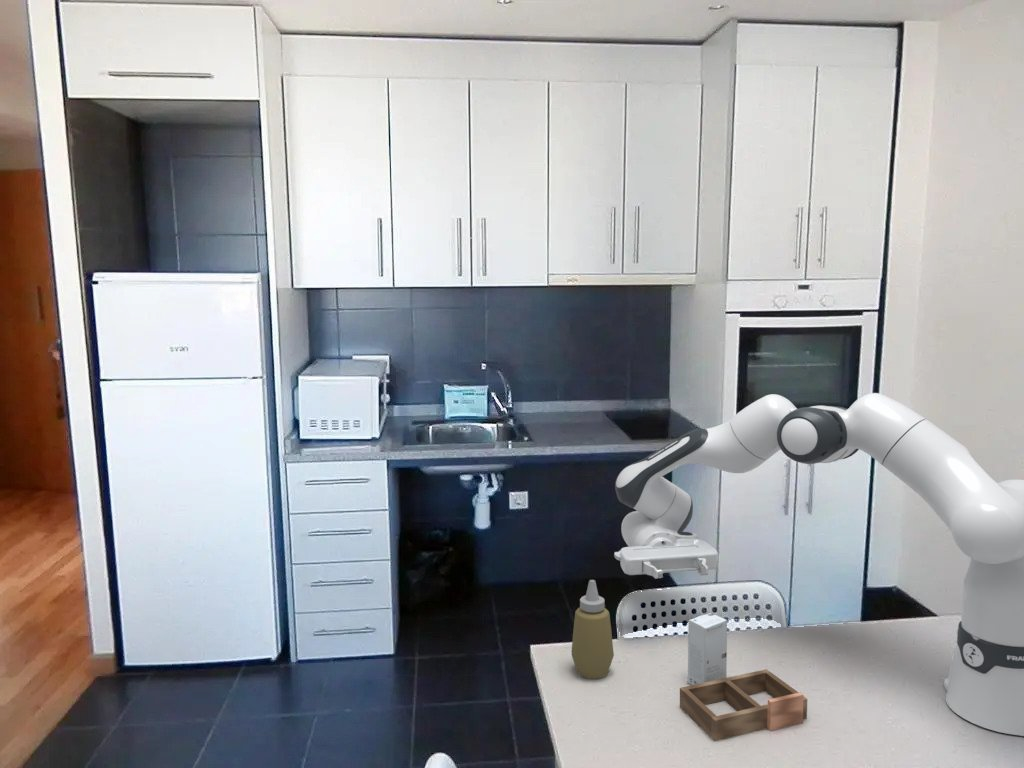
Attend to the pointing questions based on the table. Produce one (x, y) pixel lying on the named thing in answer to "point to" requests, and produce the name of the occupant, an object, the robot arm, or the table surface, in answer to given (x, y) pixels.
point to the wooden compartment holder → (744, 704)
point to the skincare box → (707, 648)
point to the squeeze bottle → (592, 635)
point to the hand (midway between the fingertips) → (682, 573)
